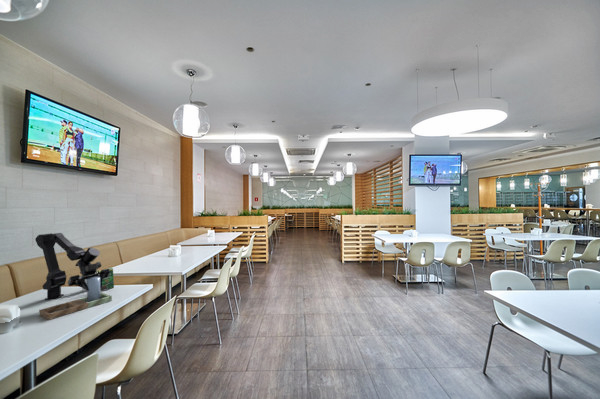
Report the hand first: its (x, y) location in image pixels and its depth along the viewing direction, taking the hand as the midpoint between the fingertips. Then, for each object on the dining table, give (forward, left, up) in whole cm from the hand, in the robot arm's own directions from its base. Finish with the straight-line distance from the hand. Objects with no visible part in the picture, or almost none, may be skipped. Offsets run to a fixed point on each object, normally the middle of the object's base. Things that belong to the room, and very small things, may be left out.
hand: (94, 288), depth 145 cm
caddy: (+5, -6, -8) cm, 11 cm away
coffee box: (-25, -6, -8) cm, 27 cm away
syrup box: (-28, -17, -8) cm, 34 cm away
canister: (-1, -1, -7) cm, 7 cm away
